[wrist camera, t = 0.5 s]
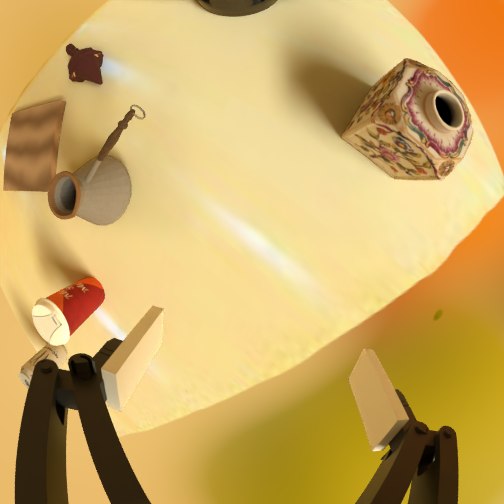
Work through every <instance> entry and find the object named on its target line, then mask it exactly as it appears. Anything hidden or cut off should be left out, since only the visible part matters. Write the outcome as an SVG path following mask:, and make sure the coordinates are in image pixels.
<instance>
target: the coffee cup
mask: <svg viewBox="0 0 504 504" xmlns="http://www.w3.org/2000/svg"><path fill="white" fill-rule="evenodd" d="M104 298H105V293H104V289H103V287H102V285H101V284H100V283H99V281H97V280H96V279H95V278H92V277H88V278H85V279H82V280H80V281H78V282H76V283H74V284H72V285H70V286H68V287H66V288H64V289H62V290H60V291H58V292H56V293H54V294H52V295H50V296H49V297H47V298H40V299H39V300H38V301H37V302H36V304H35V306H34V307H33V310H32V318H33V322H34V325H35V327H36V329H37V331H38V332H39V334H40V335H41V337H42V338H43V339H44V340H46V341H47V342H48V343H50V344H51V345H55V346H58V345H62V344H65V343H67V342H68V340H69V337H70V336H71V335H72V334H73V333H74V332H75V330H76V329H77V328H78V327H79V326H80V325H81V324H82V323H83V322H84V321H85V320H86V319H87V318H88V317H89V316H90V315H91V314H92V313H93V312H94V311H95V310H96V309H97V308H98V307H99V306H100V305H101V304H102V303H103V301H104Z"/></svg>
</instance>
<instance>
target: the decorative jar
mask: <svg viewBox="0 0 504 504" xmlns="http://www.w3.org/2000/svg"><path fill="white" fill-rule="evenodd" d="M472 136H473V127H472V121H471V116H470V113H469V109H468V107H467V104H466V101H465V98H464V96H463V95H462V93H461V92H460V91H459V90H458V89H457V88H456V87H455V86H454V85H453V83H452V82H451V81H450V80H448V79H447V78H446V77H445V76H444V75H442V74H441V73H440V72H439V71H437V70H435V69H432V68H430V67H428V66H426V65H424V64H421V63H420V62H418V61H415V60H412V59H408V58H406V59H404V60H403V61H402V62H400V63H399V64H398V65H396V66H395V67H394V68H393V69H392V70H391V71H389V72H388V73H387V74H386V75H385V76H383V77H382V78H381V79H380V80H379V81H378V82H377V83H376V84H375V85H374V86H373V87H372V88H371V89H370V91H369V93H368V94H367V96H366V98H365V99H364V101H363V102H362V104H361V106H360V107H359V109H358V110H357V112H356V113H355V115H354V117H353V118H352V120H351V122H350V123H349V125H348V127H347V128H346V130H345V132H344V133H343V134H342V139H343V140H345V141H346V142H348V143H349V144H351V145H352V146H353V147H354V148H356V149H357V150H359V151H360V152H361V153H362V154H364V155H365V156H366V157H368V158H369V159H370V160H371V161H373V162H374V163H375V164H376V165H378V166H379V167H380V168H381V169H383V170H384V171H385V172H386V173H388V174H389V175H390V176H391V177H393V178H394V179H401V180H443V179H444V178H445V177H446V176H447V175H449V174H450V172H452V171H453V169H454V168H455V166H456V165H457V164H458V163H460V162H461V160H462V159H463V158H464V156H465V154H466V152H467V149H468V147H469V145H470V143H471V139H472Z"/></svg>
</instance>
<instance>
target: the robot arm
mask: <svg viewBox="0 0 504 504" xmlns="http://www.w3.org/2000/svg"><path fill="white" fill-rule="evenodd" d="M276 1H277V0H198V2H199V3H200V5H201V6H202V7H203V8H204V9H206V10H207V11H209V12H211V13H214V14H218V15H222V16H245V15H250V14H254V13H258V12H260V11H263V10H265V9H267V8H269V7H270V6H272V5H273V4H274V3H275V2H276ZM163 315H164V309H163V308H159V307H156V306H152V307H151V308H150V310H149V311H148V312H147V313H146V314H145V316H144V317H143V318H142V319H141V320H140V321H139V323H138V324H137V325H136V326H135V327H134V329H133V330H132V331H131V332H130V333H129V335H128V336H127V337H126V338H125V340H124V341H121V340H119V339H116V338H113V339H111V340H109V341H107V342H106V343H105V344H104V346H103V347H102V348H101V349H100V350H99V352H97V354H96V355H95V356H94V357H93V358H92V357H91V356H89V355H87V354H81V353H79V354H75V355H73V356H71V357H70V359H69V361H68V365H69V369H70V371H67V370H62V369H58V365H57V364H56V362H54V361H53V360H50V359H43V360H40V361H38V362H37V363H36V365H35V367H34V370H33V374H32V377H31V381H30V385H29V389H28V393H27V397H26V402H25V406H24V411H23V416H22V422H21V427H20V433H19V441H18V448H17V458H16V472H15V504H68V494H67V478H66V431H67V430H66V429H67V414H68V408H70V409H74V410H78V412H79V416H80V419H81V423H82V427H83V431H84V434H85V437H86V441H87V444H88V447H89V450H90V453H91V456H92V459H93V462H94V464H95V467H96V470H97V472H98V474H99V478H100V480H101V482H102V485H103V487H104V490H105V492H106V494H107V496H108V498H109V500H110V503H111V504H151V503H150V501H149V500H148V498H147V496H146V494H145V493H144V491H143V489H142V487H141V485H140V483H139V482H138V480H137V478H136V476H135V474H134V472H133V470H132V468H131V466H130V463H129V461H128V459H127V457H126V455H125V453H124V451H123V448H122V446H121V443H120V441H119V439H118V436H117V434H116V431H115V429H114V426H113V423H112V421H111V418H110V415H109V412H108V409H107V406H106V403H105V402H106V400H107V404H108V407H110V408H112V409H115V410H117V411H120V412H122V410H123V408H124V407H125V405H126V403H127V401H128V400H129V398H130V396H131V394H132V393H133V391H134V389H135V388H136V386H137V384H138V382H139V381H140V379H141V377H142V376H143V374H144V372H145V371H146V369H147V367H148V366H149V364H150V362H151V361H152V359H153V357H154V356H155V354H156V352H157V351H158V349H159V347H160V346H161V344H162V330H163ZM348 380H349V383H350V385H351V388H352V391H353V394H354V397H355V400H356V403H357V406H358V409H359V411H360V415H361V418H362V421H363V424H364V427H365V430H366V434H367V437H368V440H369V443H370V446H371V450H372V451H379V450H383V449H385V447H386V446H387V445H388V444H389V445H390V448H391V449H390V450H389V451H388V452H387V453H386V454H385V455H384V456H383V457H382V458H381V460H383V461H382V463H381V464H380V466H379V468H378V469H377V471H376V473H375V474H374V476H373V478H372V479H371V481H370V482H369V484H368V485H367V487H366V489H365V490H364V492H363V493H362V494H361V496H360V497H359V499H358V500H357V502H356V503H355V504H401V502H402V500H403V498H404V496H405V494H406V492H407V490H408V488H409V485H410V483H411V481H412V483H411V489H410V495H409V500H408V504H458V450H457V438H456V432H455V431H454V430H453V429H452V428H451V427H449V426H443V427H442V428H440V430H439V431H432V430H429V429H428V427H427V425H426V424H424V423H422V422H419V421H417V420H416V418H415V416H414V414H413V412H412V410H411V408H410V407H409V405H408V403H407V402H406V399H405V397H404V395H403V394H402V393H401V392H400V391H399V390H394V388H393V386H392V384H391V382H390V380H389V378H388V376H387V374H386V372H385V370H384V369H383V367H382V365H381V363H380V361H379V359H378V357H377V356H376V354H375V352H374V350H373V349H363V351H362V353H361V355H360V357H359V359H358V361H357V363H356V365H355V367H354V369H353V371H352V373H351V375H350V377H349V379H348Z"/></svg>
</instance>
